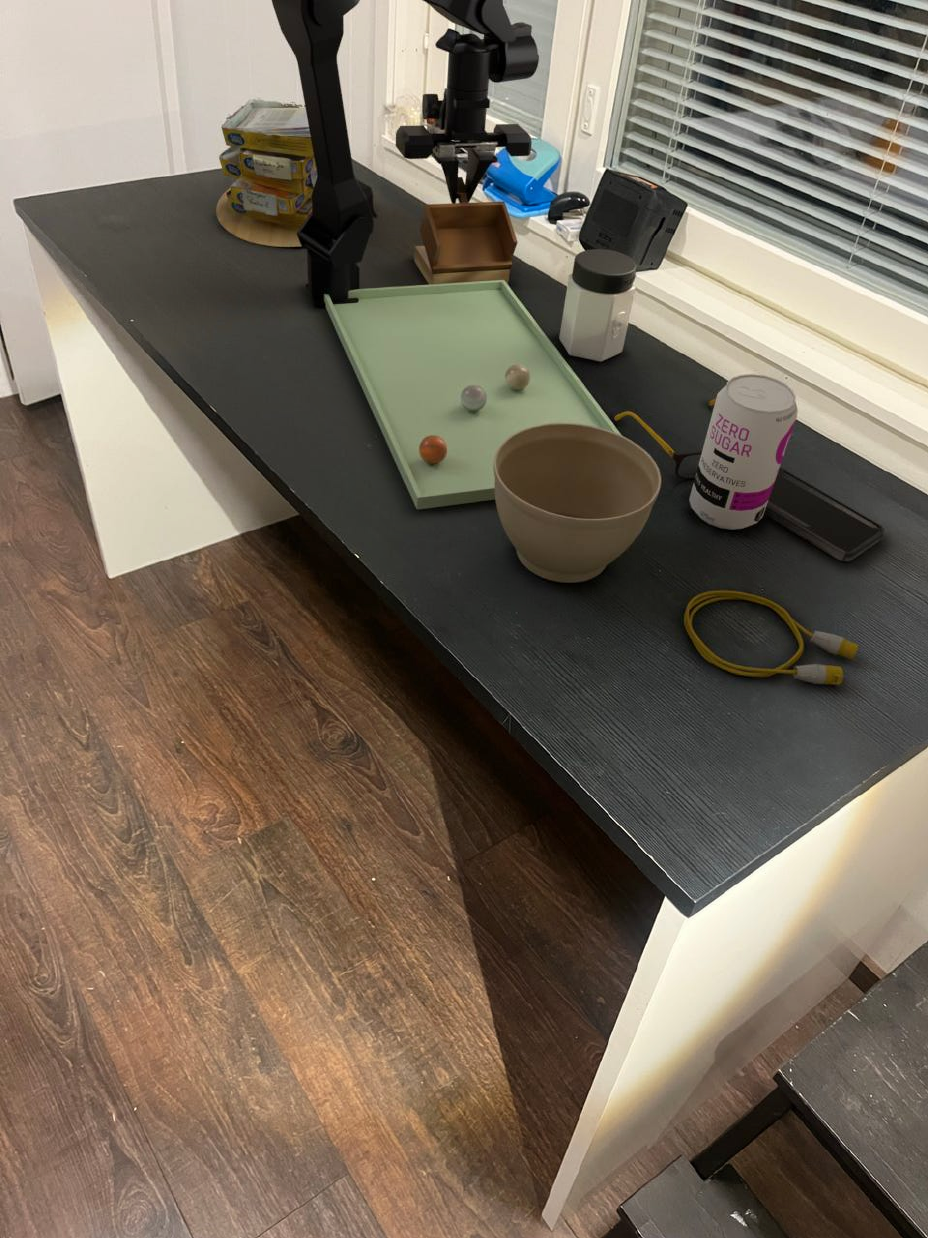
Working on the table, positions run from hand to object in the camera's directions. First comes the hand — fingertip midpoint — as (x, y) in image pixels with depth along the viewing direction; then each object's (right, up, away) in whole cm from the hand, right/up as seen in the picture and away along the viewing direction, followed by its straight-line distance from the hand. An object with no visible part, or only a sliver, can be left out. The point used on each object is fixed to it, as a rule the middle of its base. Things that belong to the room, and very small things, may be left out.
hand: (459, 202), depth 141 cm
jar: (+18, -24, -9) cm, 31 cm away
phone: (+39, -50, -34) cm, 72 cm away
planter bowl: (+11, -55, -42) cm, 70 cm away
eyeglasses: (+28, -40, -25) cm, 55 cm away
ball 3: (+7, -31, -21) cm, 38 cm away
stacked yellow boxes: (-27, +4, +15) cm, 31 cm away
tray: (+1, -31, -19) cm, 36 cm away
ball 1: (-3, -43, -34) cm, 55 cm away
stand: (0, -9, +5) cm, 10 cm away
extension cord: (+29, -64, -50) cm, 86 cm away
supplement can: (+30, -50, -35) cm, 67 cm away
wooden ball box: (0, -4, +2) cm, 5 cm away
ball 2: (+2, -35, -25) cm, 43 cm away
